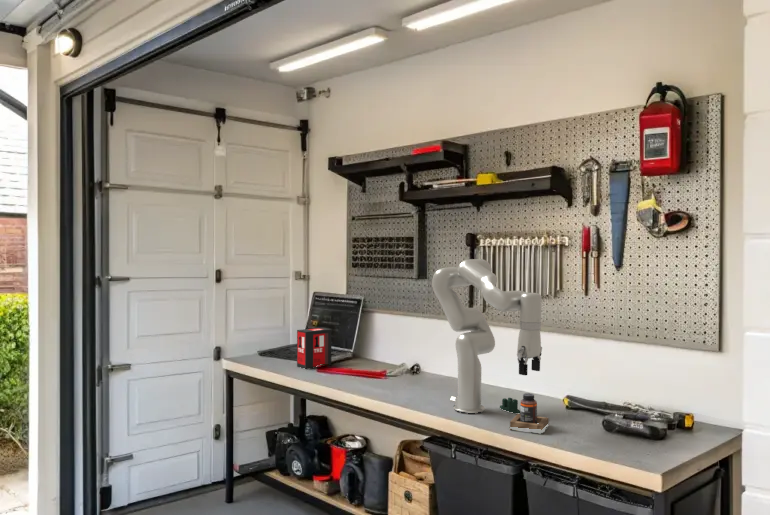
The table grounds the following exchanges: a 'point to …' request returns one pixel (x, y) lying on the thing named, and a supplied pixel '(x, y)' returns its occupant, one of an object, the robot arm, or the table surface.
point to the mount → (510, 405)
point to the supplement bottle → (528, 408)
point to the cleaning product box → (313, 347)
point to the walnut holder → (517, 423)
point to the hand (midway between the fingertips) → (529, 372)
